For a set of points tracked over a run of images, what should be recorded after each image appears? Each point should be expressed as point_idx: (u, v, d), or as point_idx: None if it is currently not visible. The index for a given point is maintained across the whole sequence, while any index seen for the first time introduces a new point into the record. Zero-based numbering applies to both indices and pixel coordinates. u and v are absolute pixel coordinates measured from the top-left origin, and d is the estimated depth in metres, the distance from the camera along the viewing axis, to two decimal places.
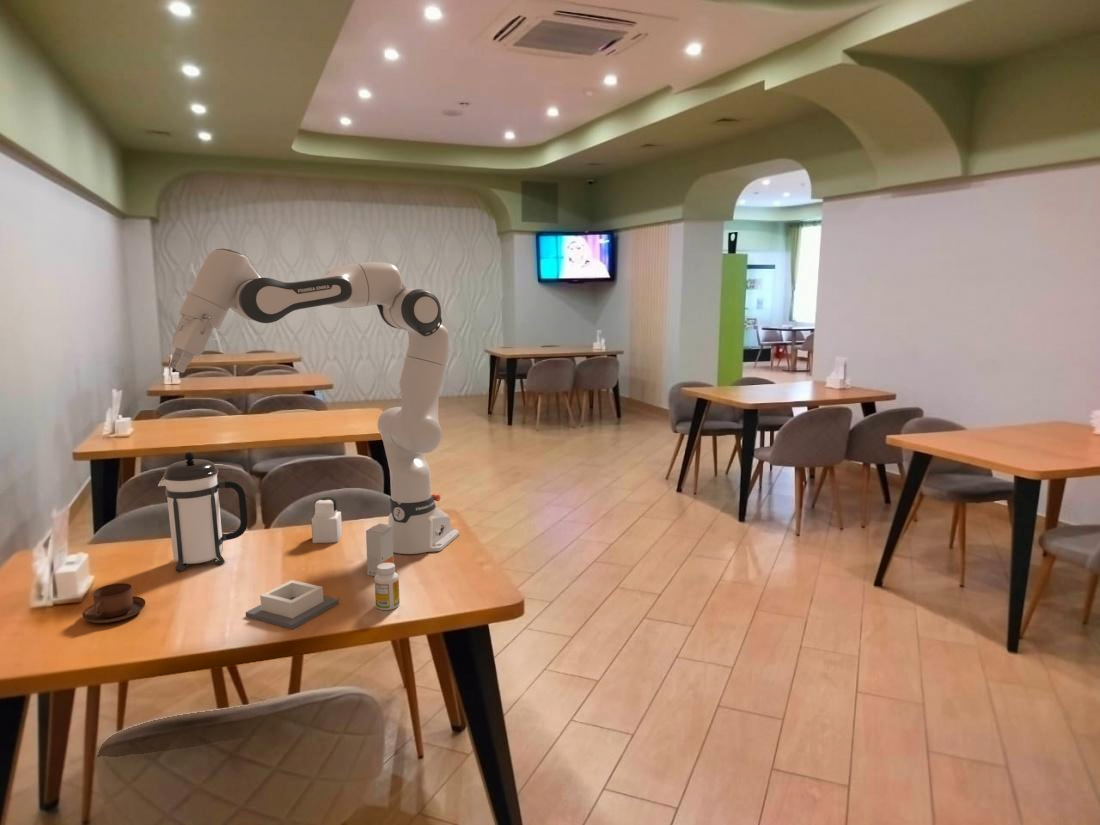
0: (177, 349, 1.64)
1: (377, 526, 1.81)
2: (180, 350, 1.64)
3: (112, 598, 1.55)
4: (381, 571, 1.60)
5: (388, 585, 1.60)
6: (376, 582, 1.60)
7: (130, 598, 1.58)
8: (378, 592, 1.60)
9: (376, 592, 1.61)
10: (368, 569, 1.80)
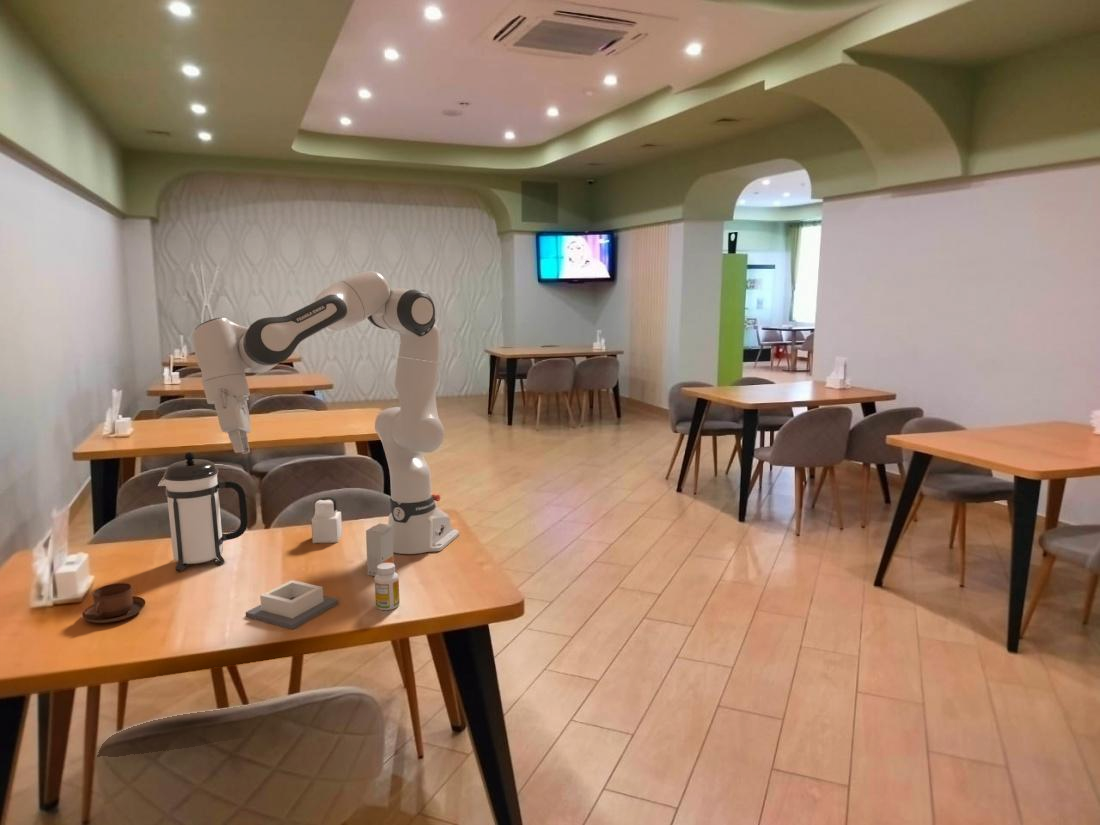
0: None
1: (377, 526, 1.81)
2: (240, 434, 1.61)
3: (112, 598, 1.55)
4: (381, 571, 1.60)
5: (388, 585, 1.60)
6: (376, 582, 1.60)
7: (129, 598, 1.58)
8: (378, 592, 1.60)
9: (376, 592, 1.61)
10: (368, 569, 1.80)
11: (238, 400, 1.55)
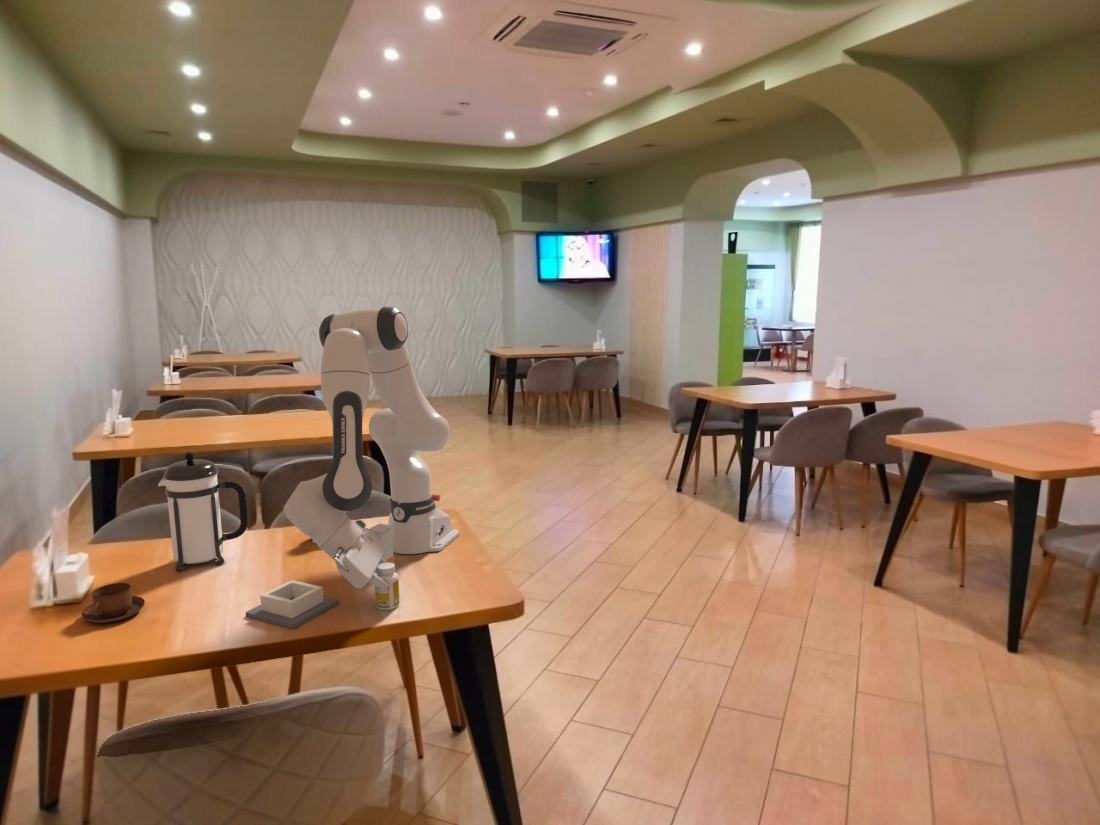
0: None
1: (377, 526, 1.81)
2: None
3: (112, 598, 1.55)
4: (381, 571, 1.60)
5: (388, 585, 1.60)
6: None
7: (129, 598, 1.58)
8: (378, 592, 1.60)
9: (376, 592, 1.61)
10: None
11: (356, 546, 1.58)
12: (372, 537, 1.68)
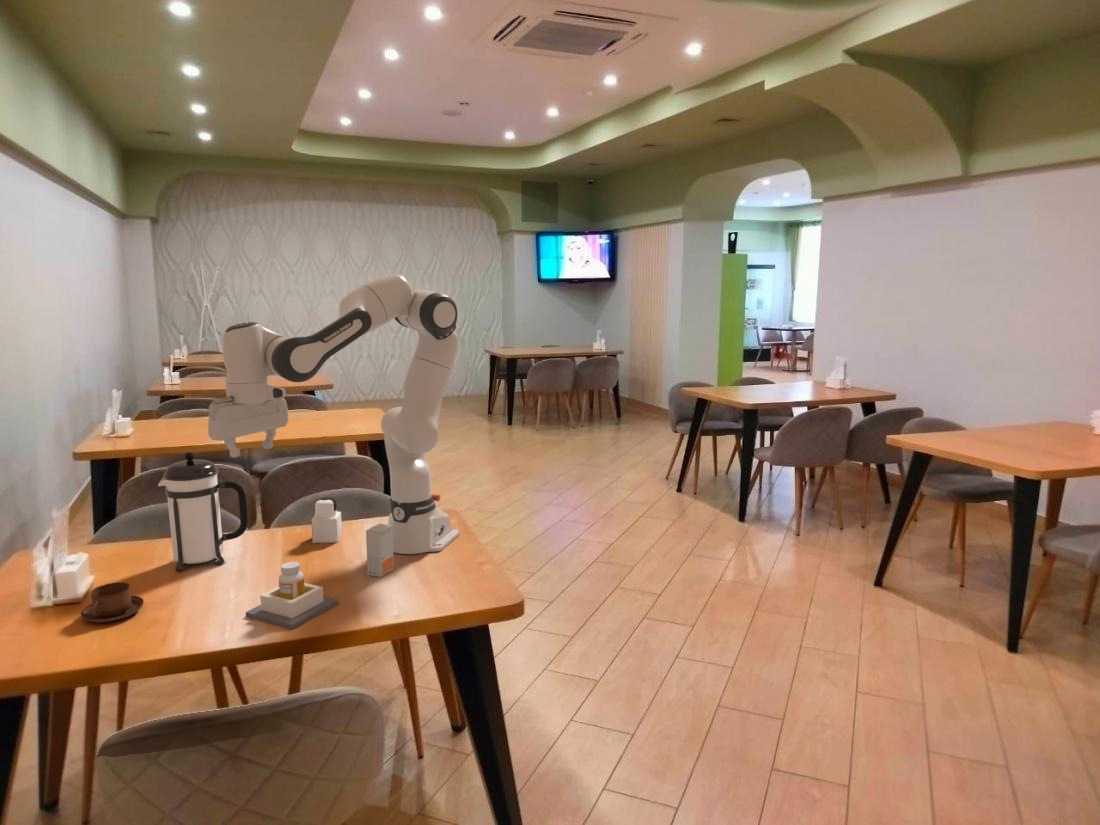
0: None
1: (377, 526, 1.81)
2: (267, 429, 1.70)
3: (110, 598, 1.55)
4: (285, 571, 1.57)
5: (291, 584, 1.57)
6: (279, 581, 1.58)
7: (128, 597, 1.58)
8: (282, 592, 1.58)
9: (280, 592, 1.58)
10: (368, 569, 1.80)
11: (246, 407, 1.61)
12: (281, 409, 1.71)
